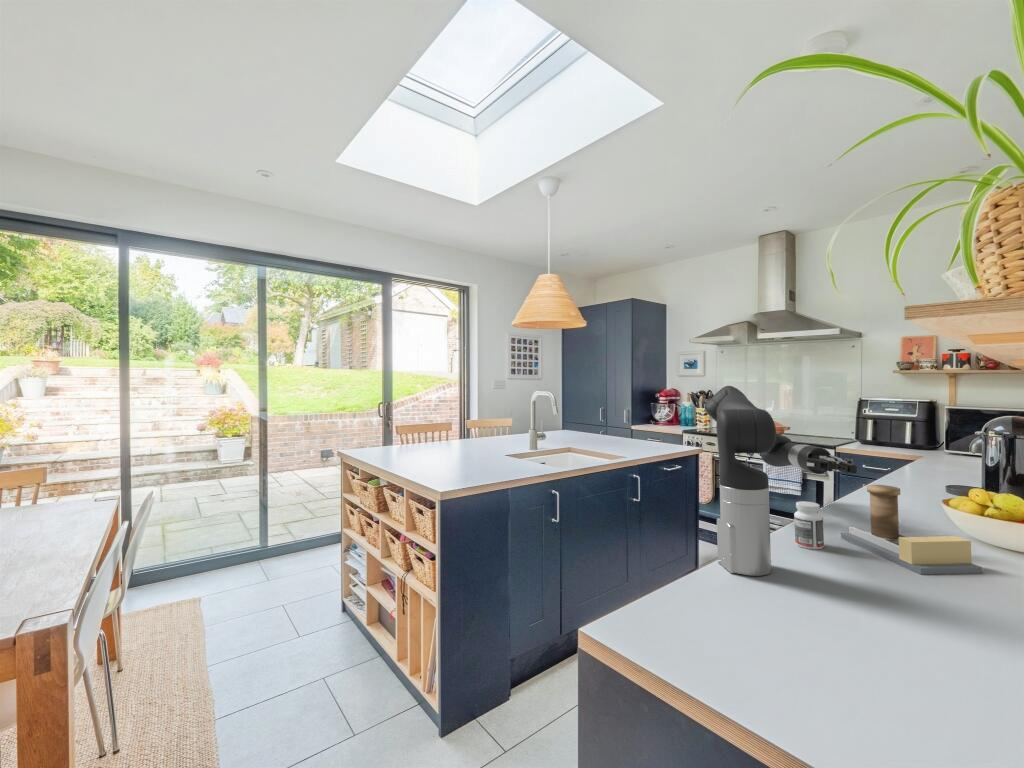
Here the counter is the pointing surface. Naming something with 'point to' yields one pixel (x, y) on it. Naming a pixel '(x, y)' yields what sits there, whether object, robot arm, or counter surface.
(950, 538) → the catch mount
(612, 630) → the counter surface
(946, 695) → the counter surface
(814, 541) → the pill bottle
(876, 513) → the knob
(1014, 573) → the counter surface
